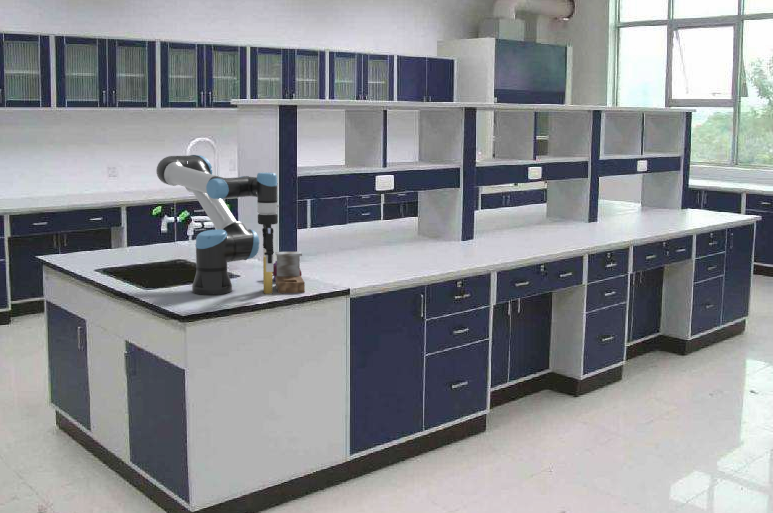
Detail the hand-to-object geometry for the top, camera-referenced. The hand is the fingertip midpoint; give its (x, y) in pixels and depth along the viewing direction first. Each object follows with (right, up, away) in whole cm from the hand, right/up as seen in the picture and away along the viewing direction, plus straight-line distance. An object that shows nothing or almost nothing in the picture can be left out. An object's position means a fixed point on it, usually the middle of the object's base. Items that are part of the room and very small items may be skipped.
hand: (268, 268), depth 322 cm
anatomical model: (+3, -5, +28) cm, 29 cm away
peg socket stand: (+7, -8, +9) cm, 14 cm away
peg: (0, -9, +2) cm, 10 cm away
